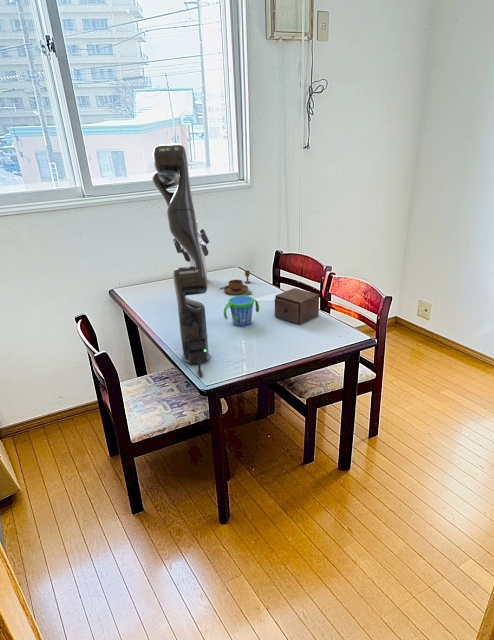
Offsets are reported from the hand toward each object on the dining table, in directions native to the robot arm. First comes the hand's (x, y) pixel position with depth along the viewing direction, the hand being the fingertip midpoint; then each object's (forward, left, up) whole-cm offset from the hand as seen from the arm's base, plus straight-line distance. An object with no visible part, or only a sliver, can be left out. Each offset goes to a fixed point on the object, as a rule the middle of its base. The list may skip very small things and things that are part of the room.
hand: (198, 258), depth 205 cm
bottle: (+47, -7, -25) cm, 53 cm away
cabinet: (-16, -38, -25) cm, 48 cm away
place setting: (+27, -25, -25) cm, 44 cm away
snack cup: (-15, -14, -25) cm, 32 cm away
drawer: (-17, -36, -24) cm, 46 cm away
